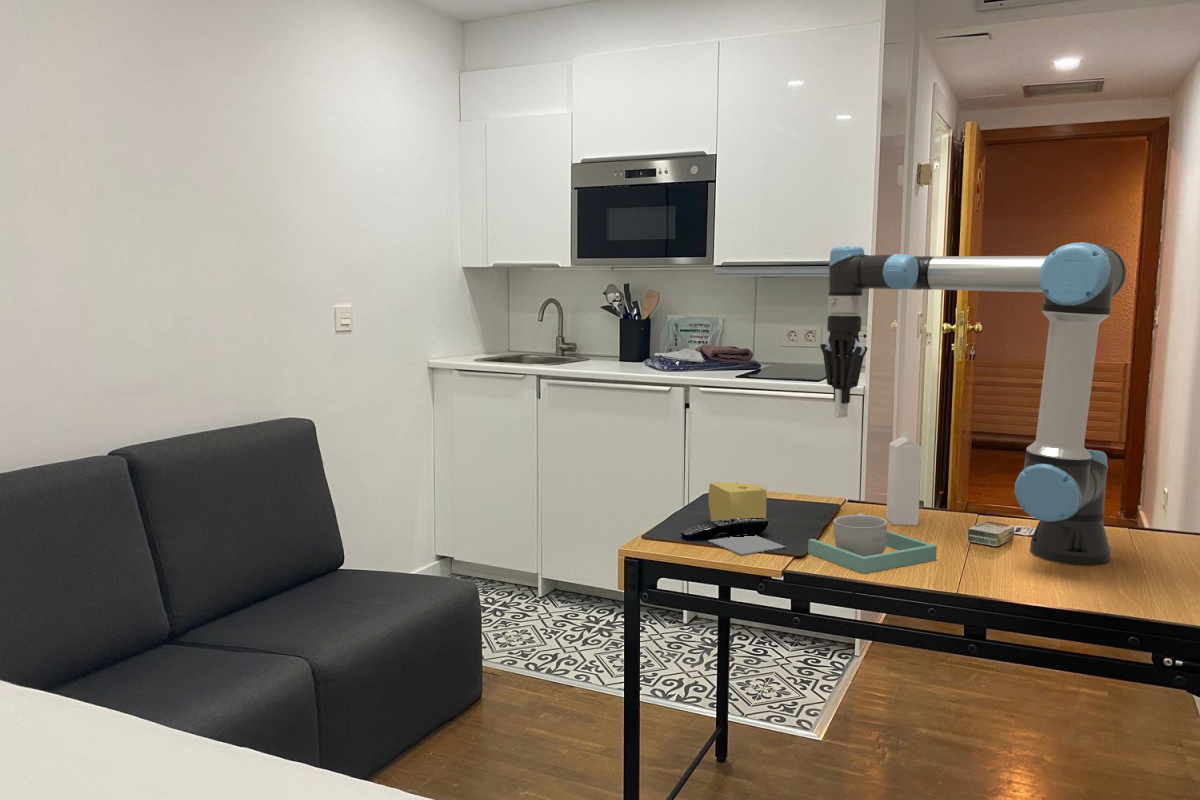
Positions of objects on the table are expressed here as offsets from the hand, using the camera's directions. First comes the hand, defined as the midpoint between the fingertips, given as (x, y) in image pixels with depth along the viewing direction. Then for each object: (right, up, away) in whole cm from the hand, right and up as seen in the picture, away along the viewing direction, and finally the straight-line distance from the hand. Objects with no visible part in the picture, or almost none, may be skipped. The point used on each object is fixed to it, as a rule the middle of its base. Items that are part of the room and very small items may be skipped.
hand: (840, 416), depth 213 cm
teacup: (-1, -29, -19) cm, 34 cm away
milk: (+17, -26, +9) cm, 32 cm away
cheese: (-23, -26, +4) cm, 35 cm away
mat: (-24, -28, -12) cm, 39 cm away
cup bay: (+1, -29, -19) cm, 35 cm away
